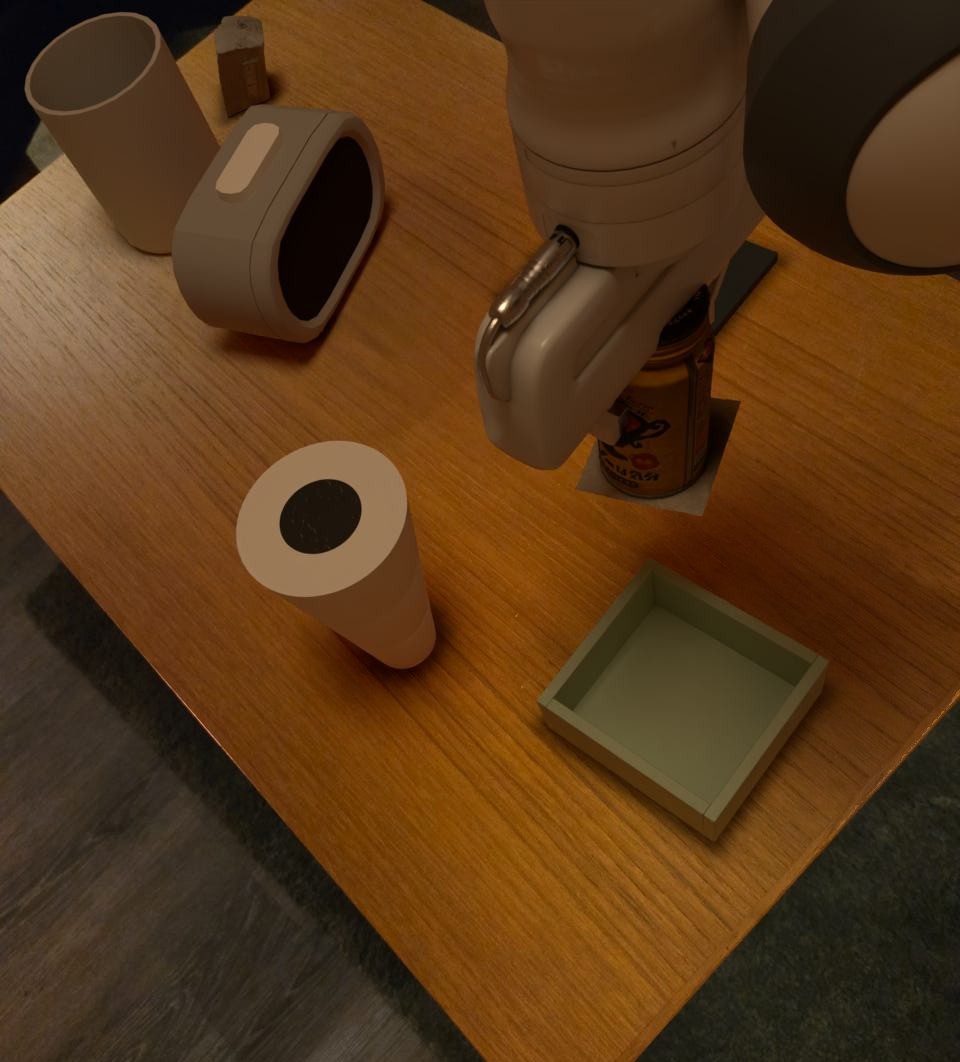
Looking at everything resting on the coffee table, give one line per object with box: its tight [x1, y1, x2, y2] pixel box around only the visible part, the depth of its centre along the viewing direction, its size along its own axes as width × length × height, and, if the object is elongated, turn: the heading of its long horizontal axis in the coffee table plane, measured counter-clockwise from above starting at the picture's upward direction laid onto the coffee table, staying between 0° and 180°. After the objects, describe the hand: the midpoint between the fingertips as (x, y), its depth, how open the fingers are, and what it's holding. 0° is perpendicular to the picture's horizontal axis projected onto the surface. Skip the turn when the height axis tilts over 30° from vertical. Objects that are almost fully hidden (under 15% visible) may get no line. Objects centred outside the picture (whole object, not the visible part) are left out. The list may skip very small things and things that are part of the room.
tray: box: [536, 557, 831, 843], centre depth 65 cm, size 14×13×5 cm
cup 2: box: [235, 440, 437, 670], centre depth 66 cm, size 11×11×18 cm
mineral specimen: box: [213, 15, 271, 117], centre depth 101 cm, size 7×9×8 cm
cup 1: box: [24, 11, 221, 255], centre depth 94 cm, size 13×18×16 cm
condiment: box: [574, 284, 742, 518], centre depth 51 cm, size 7×8×12 cm
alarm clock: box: [171, 103, 386, 344], centre depth 86 cm, size 21×10×13 cm, turn 158°
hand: (651, 378), depth 51 cm, fingers closed on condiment, 6 cm apart
